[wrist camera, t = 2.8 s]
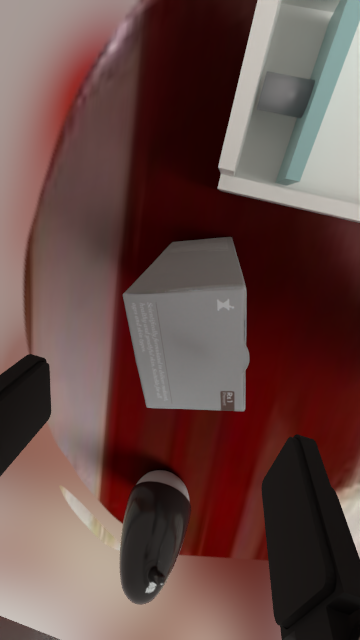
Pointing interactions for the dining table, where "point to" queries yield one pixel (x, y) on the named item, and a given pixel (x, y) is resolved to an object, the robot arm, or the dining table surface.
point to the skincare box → (191, 327)
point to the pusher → (310, 91)
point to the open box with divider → (275, 129)
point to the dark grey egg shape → (152, 534)
